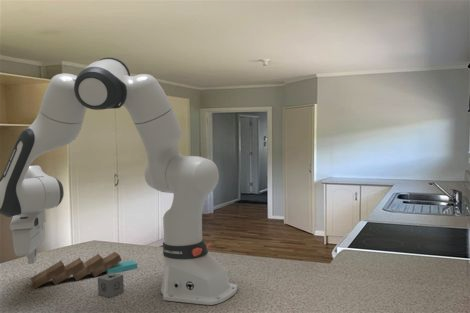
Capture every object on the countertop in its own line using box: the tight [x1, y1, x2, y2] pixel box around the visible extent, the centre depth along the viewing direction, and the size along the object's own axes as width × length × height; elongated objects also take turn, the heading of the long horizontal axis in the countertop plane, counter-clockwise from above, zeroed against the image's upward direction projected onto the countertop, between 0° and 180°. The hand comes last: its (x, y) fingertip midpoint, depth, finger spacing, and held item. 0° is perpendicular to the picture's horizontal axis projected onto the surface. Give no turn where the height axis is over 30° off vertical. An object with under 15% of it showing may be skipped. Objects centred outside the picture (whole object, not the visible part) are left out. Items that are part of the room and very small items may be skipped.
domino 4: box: [89, 251, 123, 278], centre depth 137 cm, size 2×5×10 cm
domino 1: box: [30, 259, 67, 289], centre depth 128 cm, size 2×5×10 cm
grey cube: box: [97, 273, 125, 299], centre depth 119 cm, size 5×5×5 cm
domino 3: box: [72, 253, 105, 282], centre depth 134 cm, size 2×5×10 cm
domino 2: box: [51, 257, 85, 286], centre depth 131 cm, size 2×5×10 cm
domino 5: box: [104, 259, 138, 274], centre depth 140 cm, size 2×5×10 cm
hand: (32, 262), depth 126 cm, fingers closed
